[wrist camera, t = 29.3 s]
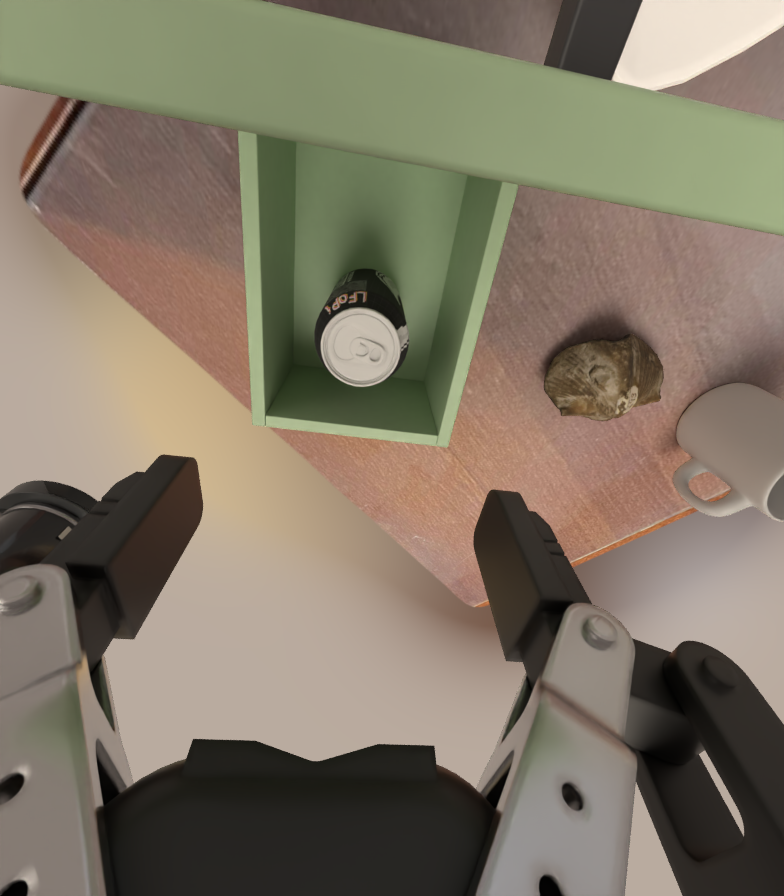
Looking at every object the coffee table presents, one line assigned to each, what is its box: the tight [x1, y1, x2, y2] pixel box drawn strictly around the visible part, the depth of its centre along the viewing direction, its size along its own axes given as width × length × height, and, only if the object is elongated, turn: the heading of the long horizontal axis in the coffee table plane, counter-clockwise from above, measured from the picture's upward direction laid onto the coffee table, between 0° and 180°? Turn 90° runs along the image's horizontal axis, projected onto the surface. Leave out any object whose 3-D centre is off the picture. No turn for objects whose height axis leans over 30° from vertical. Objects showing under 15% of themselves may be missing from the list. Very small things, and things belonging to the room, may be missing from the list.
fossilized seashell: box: [544, 334, 664, 421], centre depth 34 cm, size 8×7×10 cm
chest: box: [238, 131, 519, 447], centre depth 27 cm, size 18×14×11 cm
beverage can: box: [314, 268, 409, 387], centre depth 26 cm, size 6×6×12 cm
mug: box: [672, 383, 784, 522], centre depth 36 cm, size 12×8×11 cm
